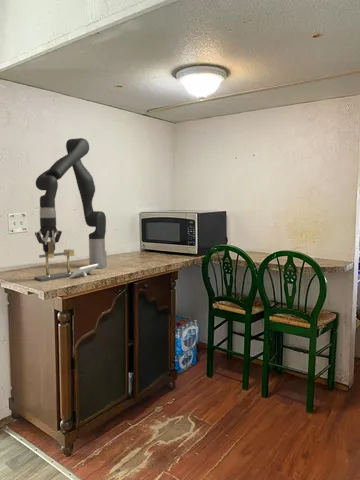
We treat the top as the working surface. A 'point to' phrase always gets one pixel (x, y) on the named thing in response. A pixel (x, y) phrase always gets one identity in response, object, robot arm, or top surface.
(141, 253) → the top surface
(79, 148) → the robot arm
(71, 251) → the dividers frame
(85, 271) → the light switch
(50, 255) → the block
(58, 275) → the bolt plate
